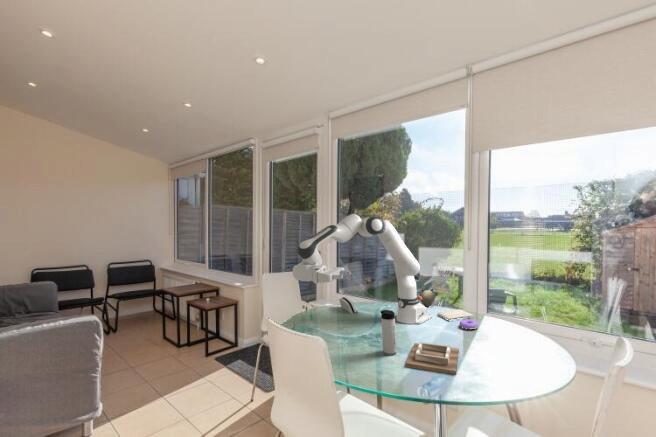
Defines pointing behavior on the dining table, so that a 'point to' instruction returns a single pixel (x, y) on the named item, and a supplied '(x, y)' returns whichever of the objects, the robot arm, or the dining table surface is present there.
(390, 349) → the travel mug
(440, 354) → the dock
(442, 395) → the dining table surface
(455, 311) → the washcloth
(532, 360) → the dining table surface
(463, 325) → the donut
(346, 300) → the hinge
